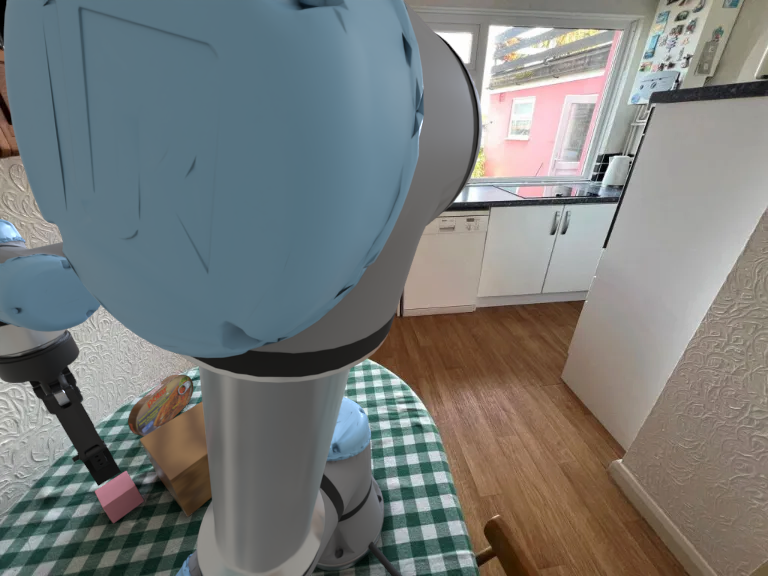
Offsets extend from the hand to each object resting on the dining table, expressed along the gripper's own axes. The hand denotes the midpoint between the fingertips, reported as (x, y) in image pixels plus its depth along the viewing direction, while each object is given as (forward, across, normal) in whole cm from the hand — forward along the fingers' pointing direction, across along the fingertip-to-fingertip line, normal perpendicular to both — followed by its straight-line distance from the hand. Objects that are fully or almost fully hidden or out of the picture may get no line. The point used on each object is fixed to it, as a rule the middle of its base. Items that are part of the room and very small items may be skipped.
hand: (95, 452), depth 49 cm
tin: (+14, -15, +13) cm, 24 cm away
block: (+13, 0, 0) cm, 13 cm away
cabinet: (+13, +5, +13) cm, 19 cm away
